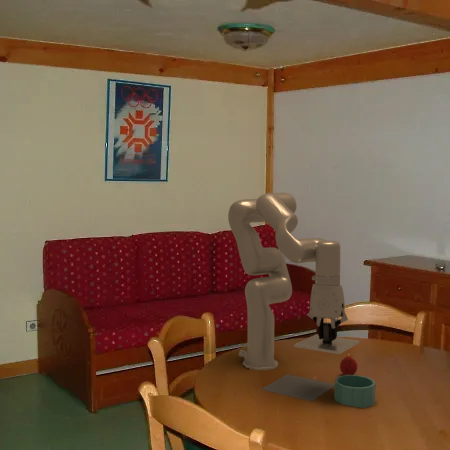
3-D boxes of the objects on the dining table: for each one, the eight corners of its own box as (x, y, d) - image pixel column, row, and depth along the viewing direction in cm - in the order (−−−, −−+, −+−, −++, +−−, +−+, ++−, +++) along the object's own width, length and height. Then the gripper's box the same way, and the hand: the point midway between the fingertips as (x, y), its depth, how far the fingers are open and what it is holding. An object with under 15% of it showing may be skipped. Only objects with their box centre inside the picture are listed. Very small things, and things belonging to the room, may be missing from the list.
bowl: (328, 402, 198) (328, 383, 197) (344, 390, 208) (344, 372, 207) (365, 410, 191) (366, 391, 191) (380, 398, 201) (380, 379, 201)
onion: (357, 380, 218) (357, 357, 217) (339, 379, 219) (340, 356, 218) (357, 375, 223) (357, 352, 222) (340, 373, 224) (340, 351, 224)
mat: (260, 390, 208) (260, 389, 208) (287, 375, 223) (287, 374, 223) (311, 402, 198) (311, 401, 198) (336, 385, 213) (336, 384, 213)
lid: (294, 346, 201) (294, 325, 200) (316, 336, 213) (316, 316, 213) (339, 354, 193) (339, 331, 192) (359, 343, 205) (359, 321, 204)
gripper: (298, 280, 203) (298, 338, 204) (347, 284, 194) (346, 345, 195) (309, 276, 209) (309, 333, 211) (357, 281, 200) (356, 340, 201)
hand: (327, 338), depth 203 cm, fingers closed on lid, 3 cm apart
